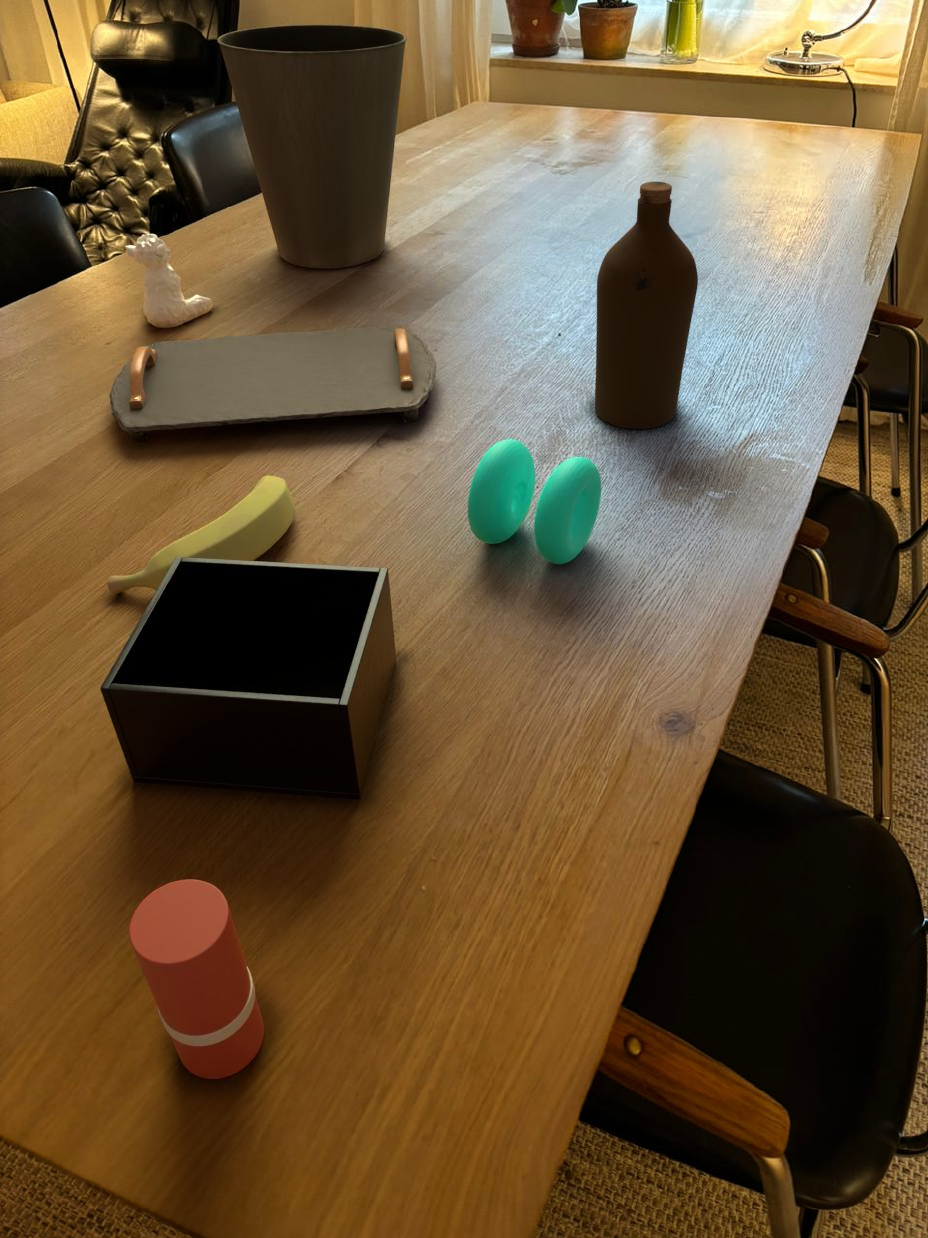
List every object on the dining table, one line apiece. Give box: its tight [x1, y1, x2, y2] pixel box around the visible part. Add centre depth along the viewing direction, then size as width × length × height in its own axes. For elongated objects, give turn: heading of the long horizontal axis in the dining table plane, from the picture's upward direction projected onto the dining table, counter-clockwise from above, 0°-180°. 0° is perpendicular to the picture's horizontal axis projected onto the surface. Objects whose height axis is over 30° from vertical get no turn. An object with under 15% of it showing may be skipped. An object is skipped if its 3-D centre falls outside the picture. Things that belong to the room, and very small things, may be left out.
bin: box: [99, 557, 397, 800], centre depth 75 cm, size 17×15×10 cm
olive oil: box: [594, 181, 699, 430], centre depth 108 cm, size 11×11×25 cm
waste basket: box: [216, 23, 408, 269], centre depth 149 cm, size 27×20×30 cm
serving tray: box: [109, 325, 437, 445], centre depth 119 cm, size 39×23×6 cm, turn 97°
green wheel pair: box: [467, 438, 602, 565], centre depth 92 cm, size 10×10×10 cm
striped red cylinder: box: [128, 878, 265, 1080], centre depth 54 cm, size 5×5×12 cm
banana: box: [106, 475, 296, 595], centre depth 95 cm, size 14×6×20 cm
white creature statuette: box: [124, 233, 214, 329], centre depth 135 cm, size 10×9×12 cm
